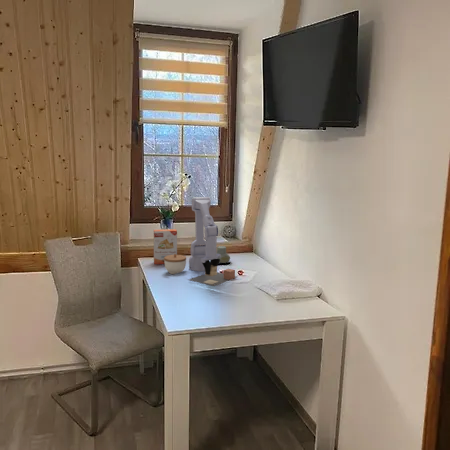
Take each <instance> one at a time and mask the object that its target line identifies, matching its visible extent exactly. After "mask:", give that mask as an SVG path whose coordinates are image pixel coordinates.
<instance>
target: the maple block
mask: <svg viewBox="0 0 450 450" xmlns="http://www.w3.org/2000/svg"><path fill="white" fill-rule="evenodd" d="M217 272H218V266H213V265H211V269H210V274H209V275H208V274H206V271H204V274H205V275H208V276H214V275H217Z"/></svg>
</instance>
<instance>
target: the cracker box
mask: <svg viewBox="0 0 450 450" xmlns="http://www.w3.org/2000/svg"><path fill="white" fill-rule="evenodd" d="M174 254H176V255H178V230H177V229H176V228H172V229H171V228H169V229H167V228H166V229H153V264H154V265H165V262H164V257H165V256H168V255H174Z"/></svg>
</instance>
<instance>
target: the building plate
mask: <svg viewBox="0 0 450 450" xmlns="http://www.w3.org/2000/svg"><path fill="white" fill-rule="evenodd" d="M235 278H236V279H237V278H238V276H237V275H235ZM235 278H233V279H235ZM233 279H231V280H233ZM231 280H229V279H225V278H224V272H223V273H222V272H218V271H217V275H214V276H208V275H205V273H204V274H201V275H198V276H195V277H192V278H190V279H188V281H191V282H194V283H198V284H203V285H206V286H210V287H216V286H218V285H221V284H223V283H227V282H229V281H231Z"/></svg>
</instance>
